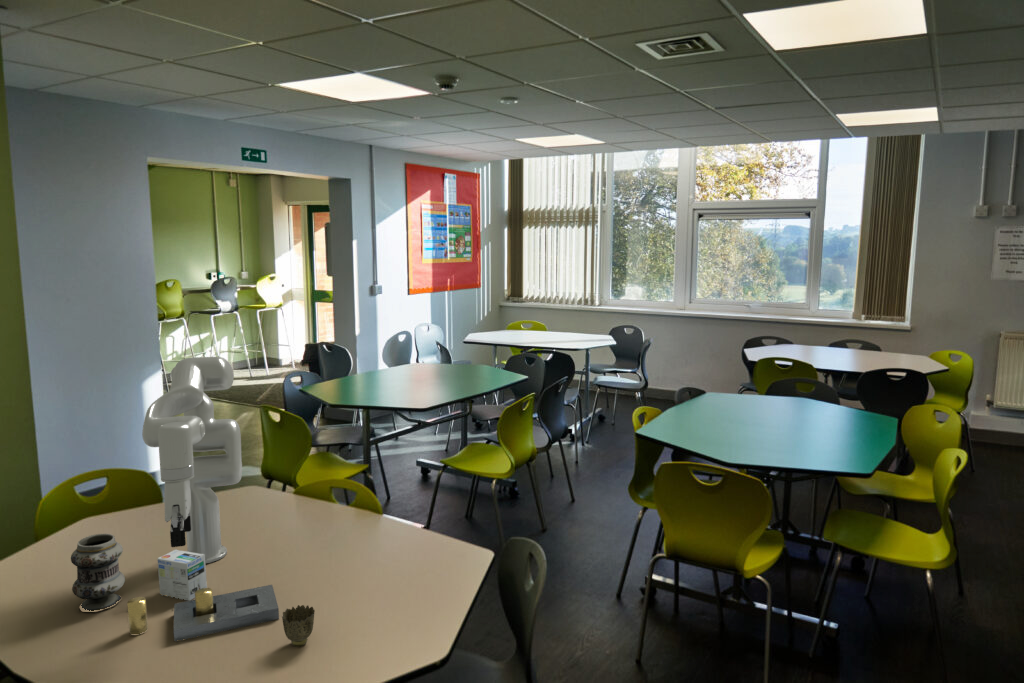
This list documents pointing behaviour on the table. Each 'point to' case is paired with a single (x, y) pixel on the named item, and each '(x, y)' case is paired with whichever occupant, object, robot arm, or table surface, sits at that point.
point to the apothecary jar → (97, 571)
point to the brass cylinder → (137, 615)
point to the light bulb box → (181, 574)
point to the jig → (226, 612)
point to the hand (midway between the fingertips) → (181, 538)
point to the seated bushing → (204, 602)
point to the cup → (298, 624)
